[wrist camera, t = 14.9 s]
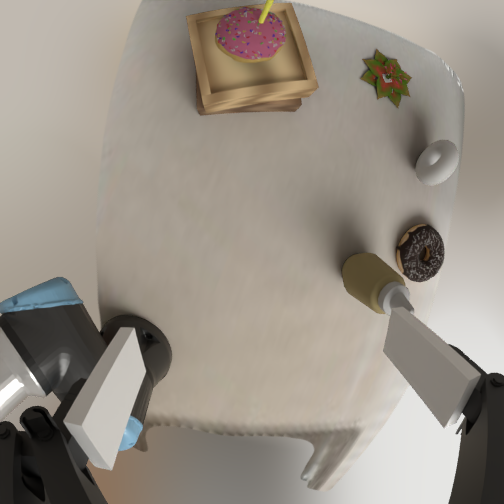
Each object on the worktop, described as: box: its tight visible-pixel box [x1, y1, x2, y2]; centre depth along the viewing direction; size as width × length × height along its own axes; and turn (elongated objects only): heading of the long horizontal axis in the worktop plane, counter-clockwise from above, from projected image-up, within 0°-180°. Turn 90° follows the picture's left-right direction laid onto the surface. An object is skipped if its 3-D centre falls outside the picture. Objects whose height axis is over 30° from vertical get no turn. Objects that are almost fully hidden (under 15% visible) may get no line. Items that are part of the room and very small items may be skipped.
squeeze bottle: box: [342, 253, 414, 316], centre depth 39 cm, size 8×8×18 cm
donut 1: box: [415, 140, 459, 185], centre depth 39 cm, size 10×4×10 cm, turn 145°
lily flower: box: [360, 49, 412, 108], centre depth 37 cm, size 12×12×5 cm
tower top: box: [186, 3, 318, 113], centre depth 31 cm, size 15×15×5 cm
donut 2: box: [396, 224, 445, 282], centre depth 46 cm, size 11×12×4 cm
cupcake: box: [215, 0, 286, 63], centre depth 24 cm, size 9×8×12 cm
